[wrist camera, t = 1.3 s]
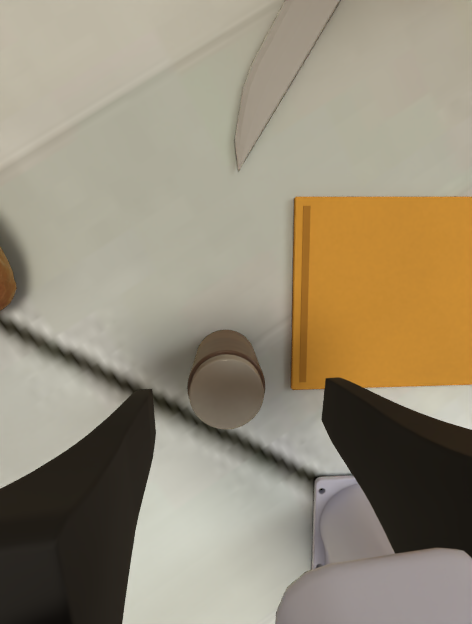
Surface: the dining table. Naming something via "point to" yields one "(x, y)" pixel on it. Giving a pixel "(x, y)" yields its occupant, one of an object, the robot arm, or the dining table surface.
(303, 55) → the chef's knife
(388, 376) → the orange cutting board
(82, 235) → the dining table surface
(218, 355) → the pepper shaker
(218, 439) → the dining table surface
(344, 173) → the dining table surface
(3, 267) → the bread roll
